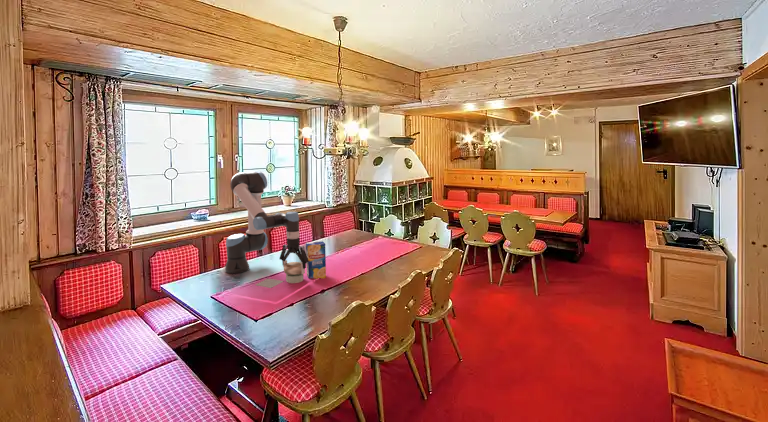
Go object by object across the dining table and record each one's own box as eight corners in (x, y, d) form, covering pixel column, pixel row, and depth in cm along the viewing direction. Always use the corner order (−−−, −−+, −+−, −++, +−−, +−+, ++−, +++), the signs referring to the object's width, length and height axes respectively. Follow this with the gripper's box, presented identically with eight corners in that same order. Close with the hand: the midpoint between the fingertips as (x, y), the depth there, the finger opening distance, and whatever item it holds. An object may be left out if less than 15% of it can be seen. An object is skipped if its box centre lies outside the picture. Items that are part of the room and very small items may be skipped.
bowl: (284, 284, 233) (284, 276, 232) (289, 278, 243) (289, 270, 242) (300, 285, 232) (300, 277, 231) (304, 279, 242) (304, 271, 241)
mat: (254, 286, 229) (254, 285, 229) (267, 280, 240) (267, 278, 240) (271, 289, 225) (271, 287, 224) (283, 282, 236) (283, 281, 235)
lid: (280, 273, 233) (279, 266, 232) (291, 267, 244) (291, 260, 243) (297, 275, 229) (296, 268, 228) (308, 269, 240) (308, 262, 239)
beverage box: (306, 276, 247) (305, 242, 243) (323, 274, 251) (323, 241, 247) (308, 280, 240) (307, 245, 237) (326, 277, 244) (325, 243, 240)
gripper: (272, 237, 234) (274, 271, 237) (306, 241, 225) (308, 276, 229) (280, 234, 240) (281, 267, 244) (313, 238, 232) (314, 272, 235)
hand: (294, 272), depth 236 cm, fingers closed on lid, 12 cm apart
